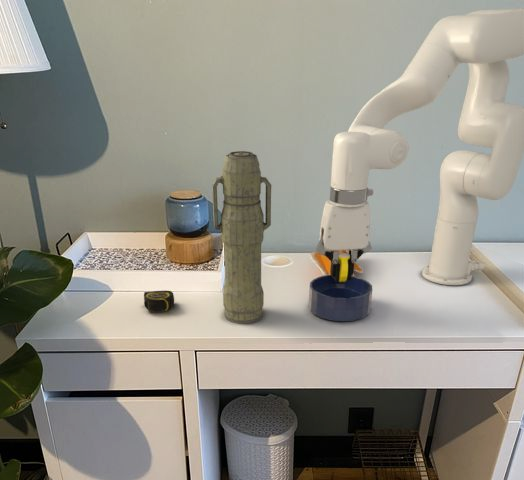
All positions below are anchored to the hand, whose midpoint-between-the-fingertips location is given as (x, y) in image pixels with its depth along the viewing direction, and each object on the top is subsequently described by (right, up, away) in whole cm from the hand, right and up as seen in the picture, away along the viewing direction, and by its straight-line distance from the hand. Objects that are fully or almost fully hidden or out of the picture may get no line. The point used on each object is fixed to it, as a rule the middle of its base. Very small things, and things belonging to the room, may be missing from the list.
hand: (341, 278), depth 124 cm
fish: (+2, +3, +21) cm, 21 cm away
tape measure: (-42, -7, +4) cm, 42 cm away
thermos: (-22, -8, +1) cm, 23 cm away
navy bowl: (0, -7, +4) cm, 8 cm away
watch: (0, -1, 0) cm, 1 cm away
